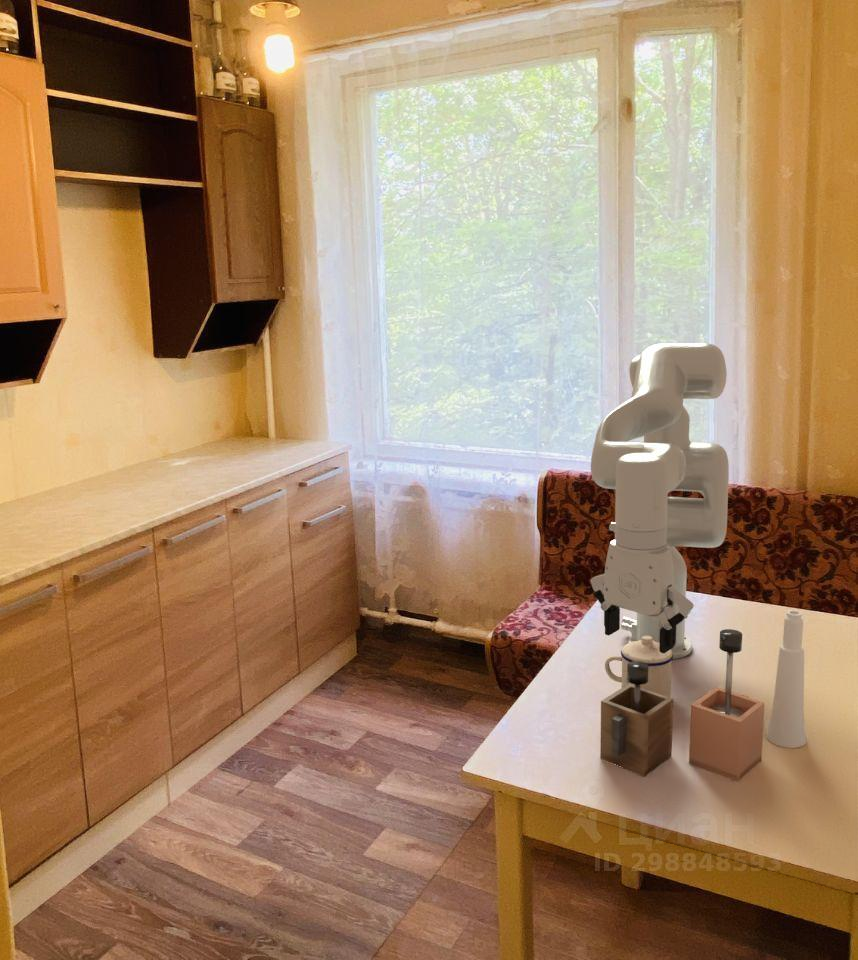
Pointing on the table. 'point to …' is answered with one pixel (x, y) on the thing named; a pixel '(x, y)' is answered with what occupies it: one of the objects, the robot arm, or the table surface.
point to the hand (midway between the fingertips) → (638, 640)
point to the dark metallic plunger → (637, 679)
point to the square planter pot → (726, 735)
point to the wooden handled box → (636, 730)
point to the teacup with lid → (648, 654)
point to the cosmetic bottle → (789, 687)
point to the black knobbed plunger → (729, 669)
